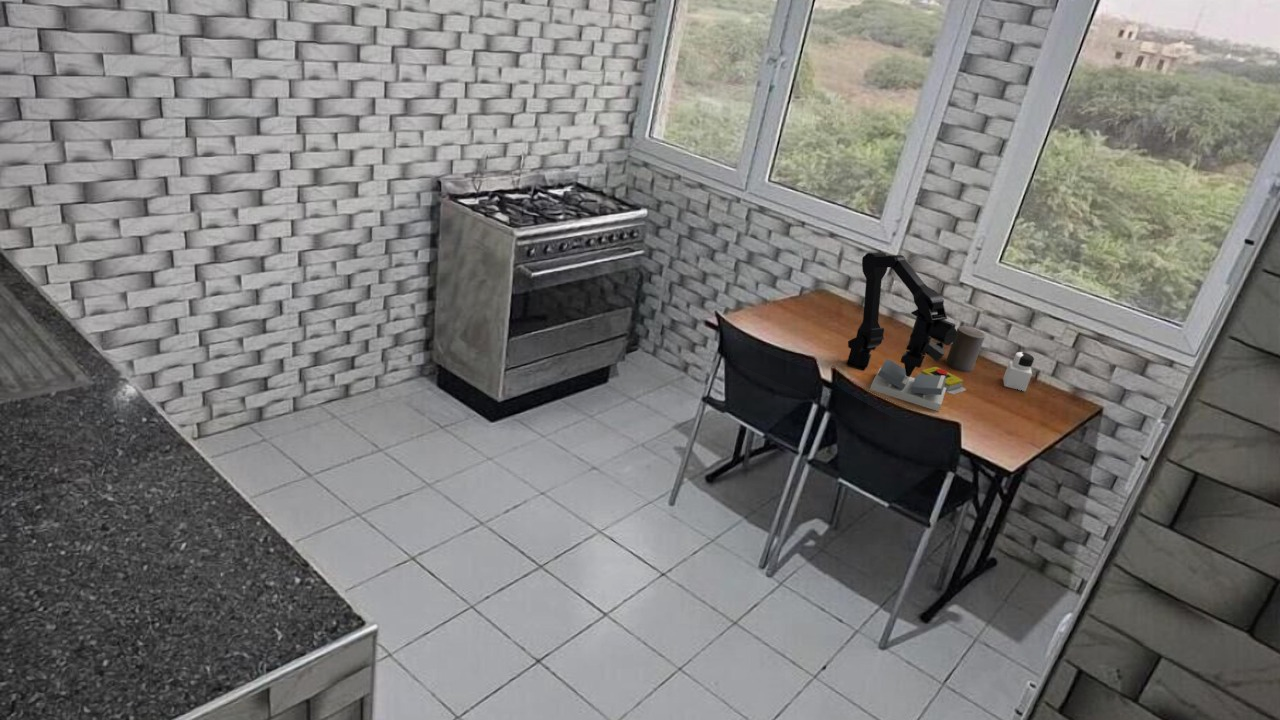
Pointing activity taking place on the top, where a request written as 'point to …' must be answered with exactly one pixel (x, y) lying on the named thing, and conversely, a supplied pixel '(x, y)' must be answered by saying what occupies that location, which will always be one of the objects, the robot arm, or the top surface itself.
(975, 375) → the top surface
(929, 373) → the emergency button
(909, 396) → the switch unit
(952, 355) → the pillar candle
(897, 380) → the block
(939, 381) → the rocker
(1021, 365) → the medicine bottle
